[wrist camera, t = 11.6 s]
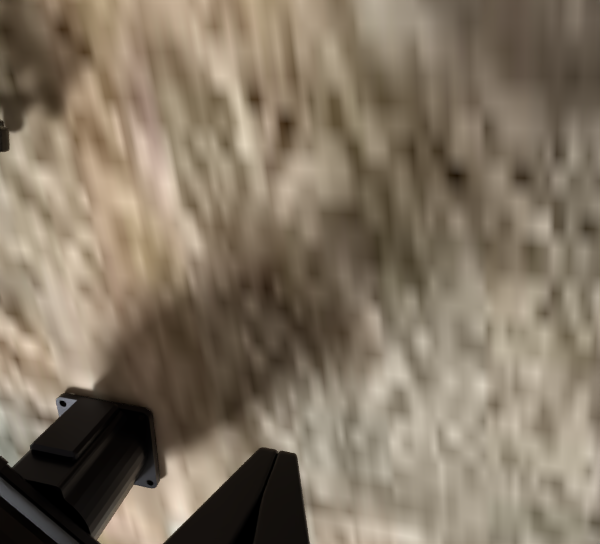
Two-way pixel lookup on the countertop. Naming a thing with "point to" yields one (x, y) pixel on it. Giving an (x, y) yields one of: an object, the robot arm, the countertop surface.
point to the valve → (4, 137)
